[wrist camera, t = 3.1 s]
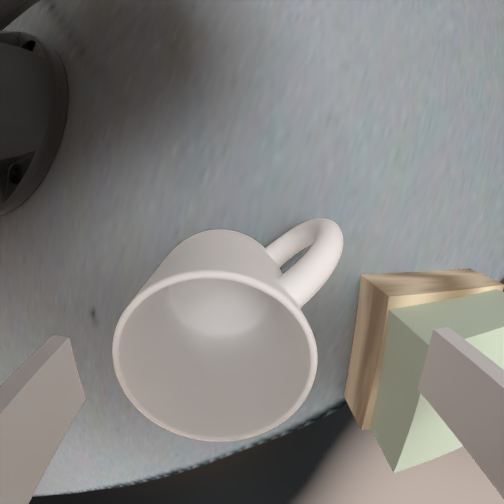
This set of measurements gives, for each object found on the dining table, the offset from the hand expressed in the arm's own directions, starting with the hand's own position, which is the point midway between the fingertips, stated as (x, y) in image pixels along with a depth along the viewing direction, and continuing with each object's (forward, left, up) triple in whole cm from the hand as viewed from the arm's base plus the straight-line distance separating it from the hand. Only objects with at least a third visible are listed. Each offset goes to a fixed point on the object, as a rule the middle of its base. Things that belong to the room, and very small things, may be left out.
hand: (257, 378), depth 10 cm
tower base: (+14, -6, -12) cm, 19 cm away
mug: (0, 0, -12) cm, 12 cm away
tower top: (+14, -6, -7) cm, 17 cm away
